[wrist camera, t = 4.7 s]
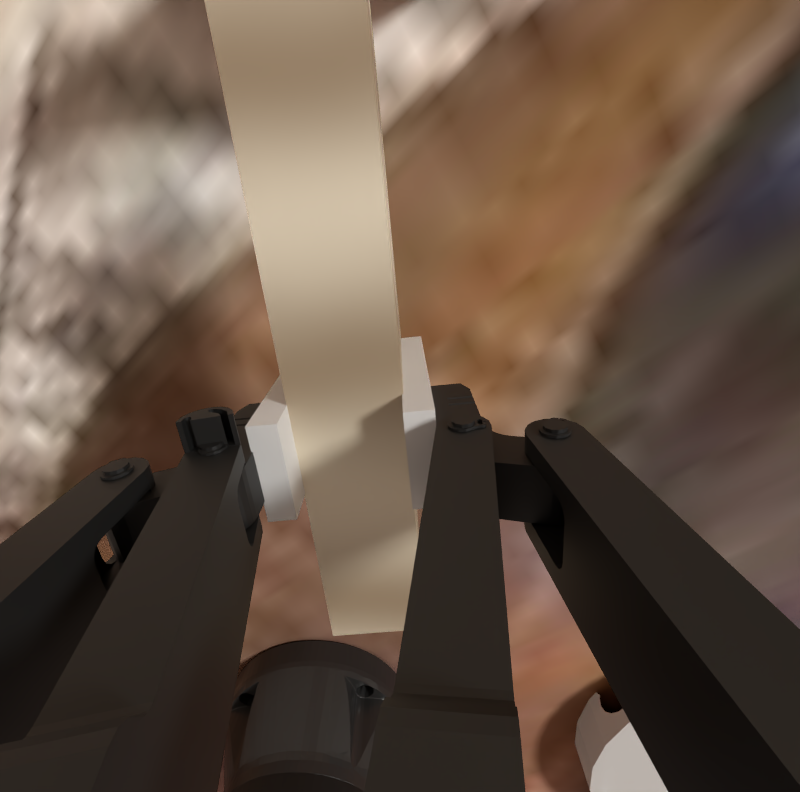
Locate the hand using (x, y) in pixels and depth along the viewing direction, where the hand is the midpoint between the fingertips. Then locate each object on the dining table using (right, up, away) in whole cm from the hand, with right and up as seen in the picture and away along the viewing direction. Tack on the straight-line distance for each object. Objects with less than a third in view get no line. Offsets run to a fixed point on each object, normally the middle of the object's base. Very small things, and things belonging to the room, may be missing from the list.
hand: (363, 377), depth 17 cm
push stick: (0, +2, 0) cm, 2 cm away
